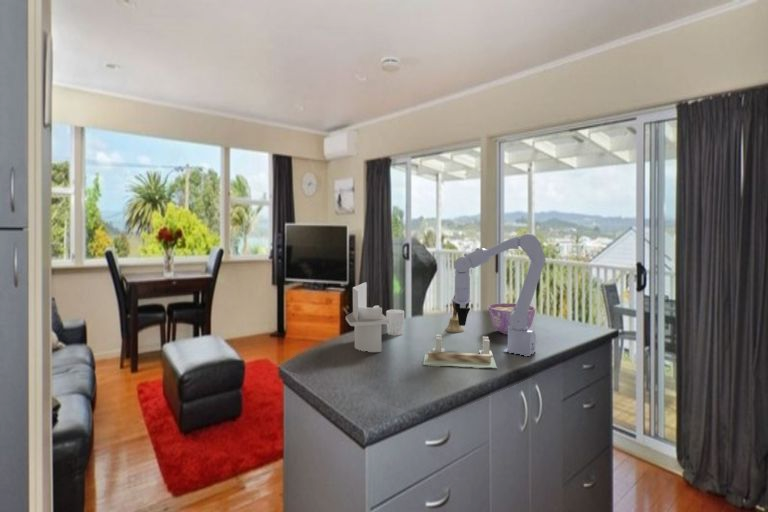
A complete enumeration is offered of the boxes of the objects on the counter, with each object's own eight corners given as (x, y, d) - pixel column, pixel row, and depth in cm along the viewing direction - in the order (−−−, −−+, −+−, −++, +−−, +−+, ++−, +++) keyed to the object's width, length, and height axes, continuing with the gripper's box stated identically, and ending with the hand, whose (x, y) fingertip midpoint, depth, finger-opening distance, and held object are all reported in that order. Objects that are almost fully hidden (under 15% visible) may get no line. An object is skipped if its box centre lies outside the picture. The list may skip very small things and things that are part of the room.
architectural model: (401, 354, 153) (402, 290, 151) (344, 358, 148) (344, 292, 146) (383, 335, 180) (383, 281, 178) (335, 338, 175) (334, 282, 173)
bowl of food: (486, 337, 177) (486, 310, 176) (488, 326, 196) (489, 302, 195) (536, 340, 171) (537, 312, 170) (534, 329, 190) (534, 304, 189)
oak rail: (490, 361, 142) (490, 354, 142) (490, 363, 140) (490, 356, 140) (428, 358, 146) (428, 351, 145) (428, 360, 143) (428, 353, 143)
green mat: (493, 359, 146) (493, 357, 146) (496, 369, 136) (496, 367, 135) (424, 355, 150) (424, 354, 150) (423, 365, 139) (423, 363, 139)
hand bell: (462, 328, 192) (463, 294, 191) (464, 332, 184) (465, 297, 183) (444, 328, 193) (445, 293, 192) (445, 332, 185) (446, 296, 184)
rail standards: (491, 352, 154) (491, 336, 154) (492, 357, 148) (493, 341, 148) (433, 350, 157) (433, 334, 157) (432, 354, 151) (432, 338, 151)
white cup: (383, 332, 184) (383, 310, 183) (399, 330, 187) (399, 308, 187) (391, 336, 177) (391, 313, 176) (407, 334, 180) (407, 312, 180)
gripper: (451, 285, 167) (451, 318, 168) (452, 290, 153) (451, 327, 154) (469, 285, 166) (468, 319, 167) (471, 291, 152) (471, 327, 153)
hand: (461, 323), depth 161 cm, fingers open, 7 cm apart
